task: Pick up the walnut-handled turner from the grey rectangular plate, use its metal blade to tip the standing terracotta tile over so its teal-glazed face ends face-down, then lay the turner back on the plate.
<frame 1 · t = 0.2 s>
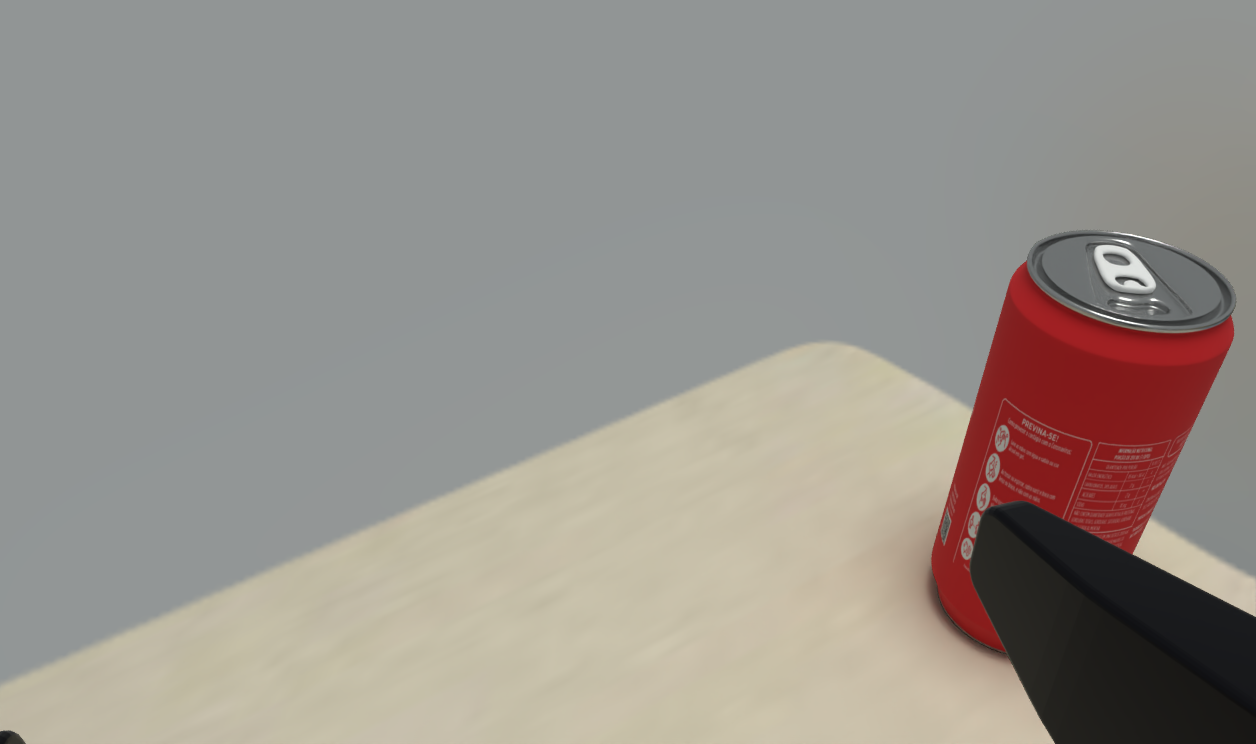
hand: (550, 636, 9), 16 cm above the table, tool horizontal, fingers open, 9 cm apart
beverage can: (1006, 604, 30), on the table
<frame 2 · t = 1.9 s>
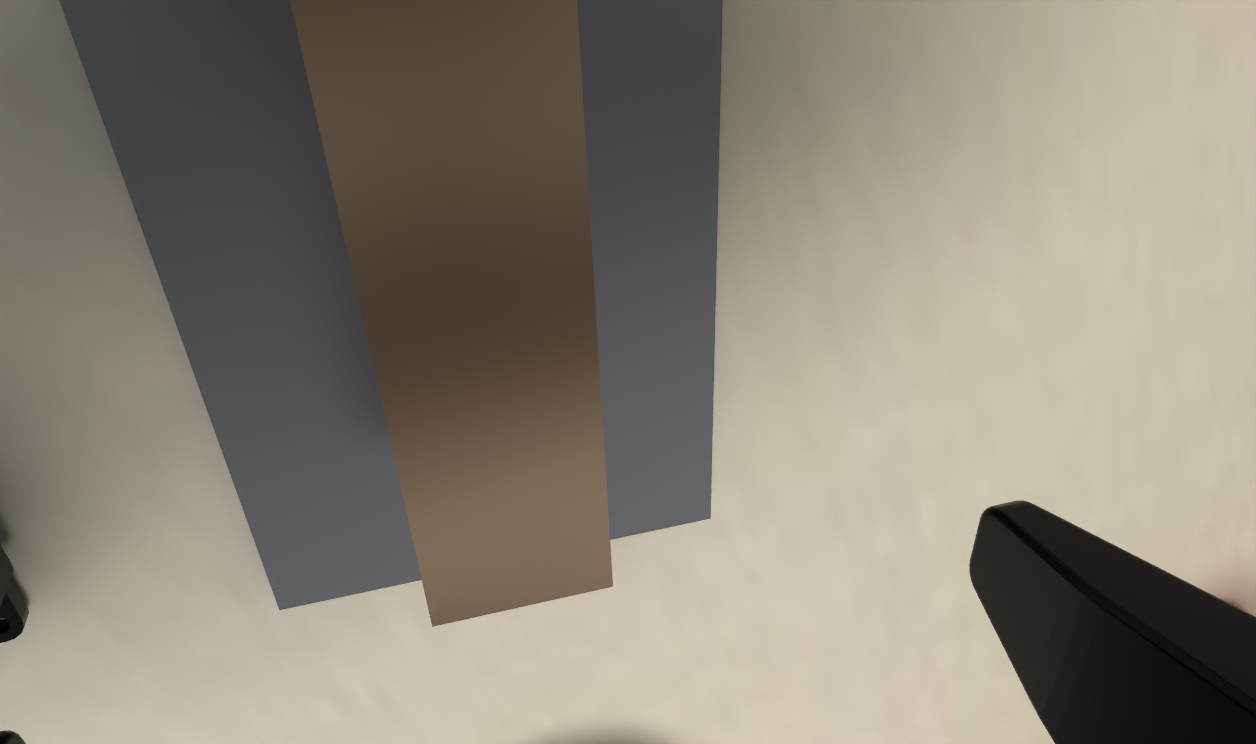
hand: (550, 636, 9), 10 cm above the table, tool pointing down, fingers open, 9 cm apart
grey rectangular plate: (428, 78, 16), on the table
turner: (449, 202, 17), point 1 cm above the table, touching grey rectangular plate
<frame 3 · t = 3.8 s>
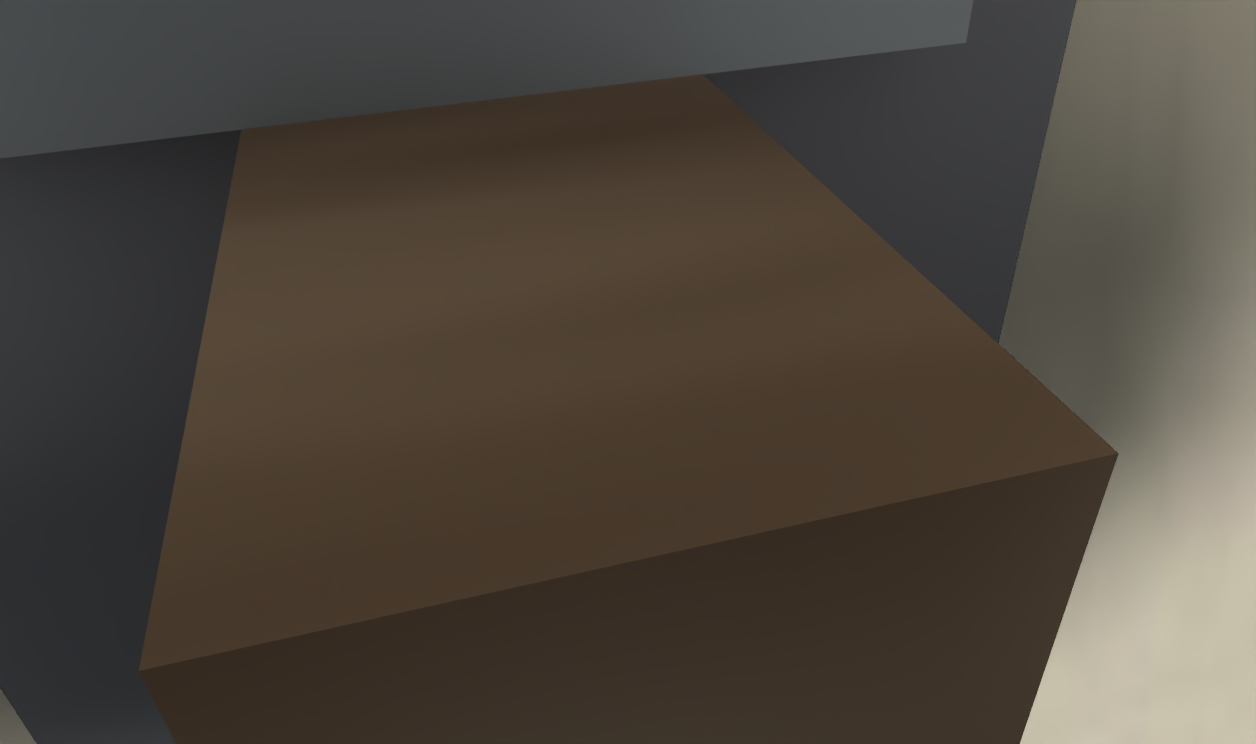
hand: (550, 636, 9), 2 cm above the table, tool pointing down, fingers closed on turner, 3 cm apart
grey rectangular plate: (500, 365, 9), on the table
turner: (531, 559, 10), point 1 cm above the table, touching gripper, grey rectangular plate
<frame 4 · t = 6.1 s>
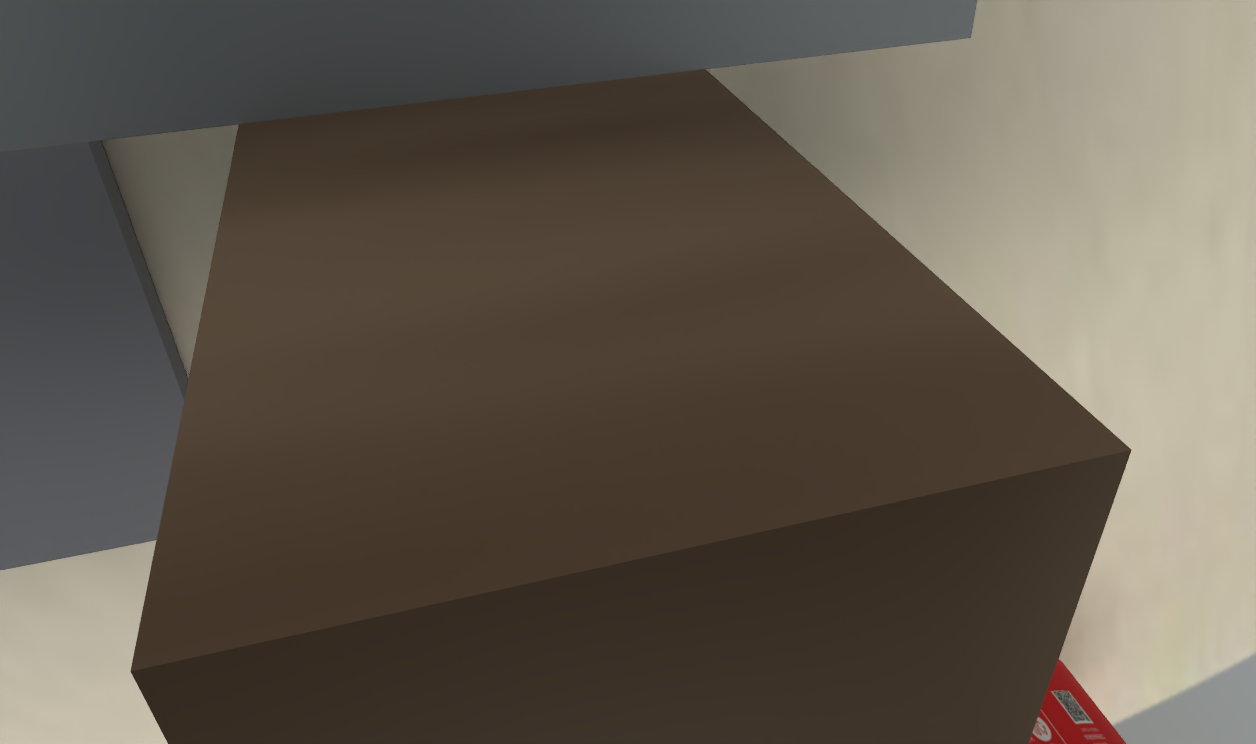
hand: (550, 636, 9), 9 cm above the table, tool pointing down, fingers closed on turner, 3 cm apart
beverage can: (960, 674, 29), on the table
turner: (531, 558, 10), point 8 cm above the table, touching gripper
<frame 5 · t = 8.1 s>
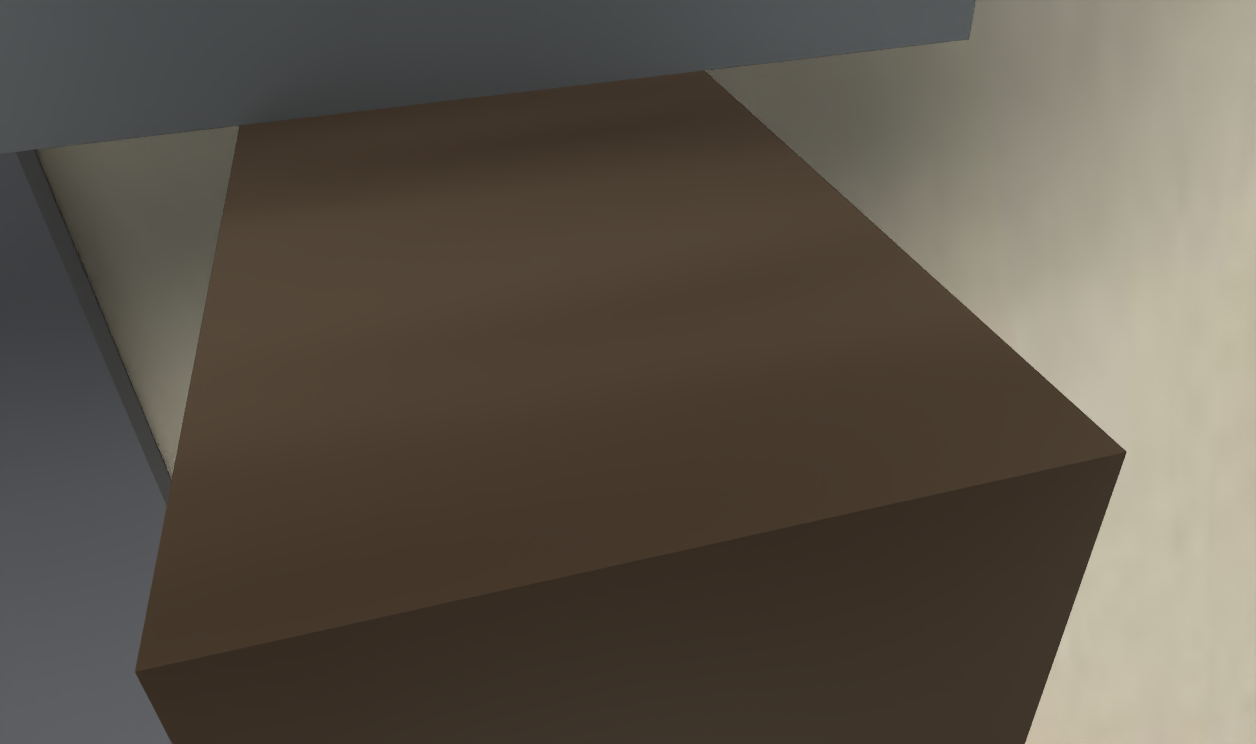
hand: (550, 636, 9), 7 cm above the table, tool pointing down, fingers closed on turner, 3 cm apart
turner: (531, 558, 10), point 6 cm above the table, touching gripper
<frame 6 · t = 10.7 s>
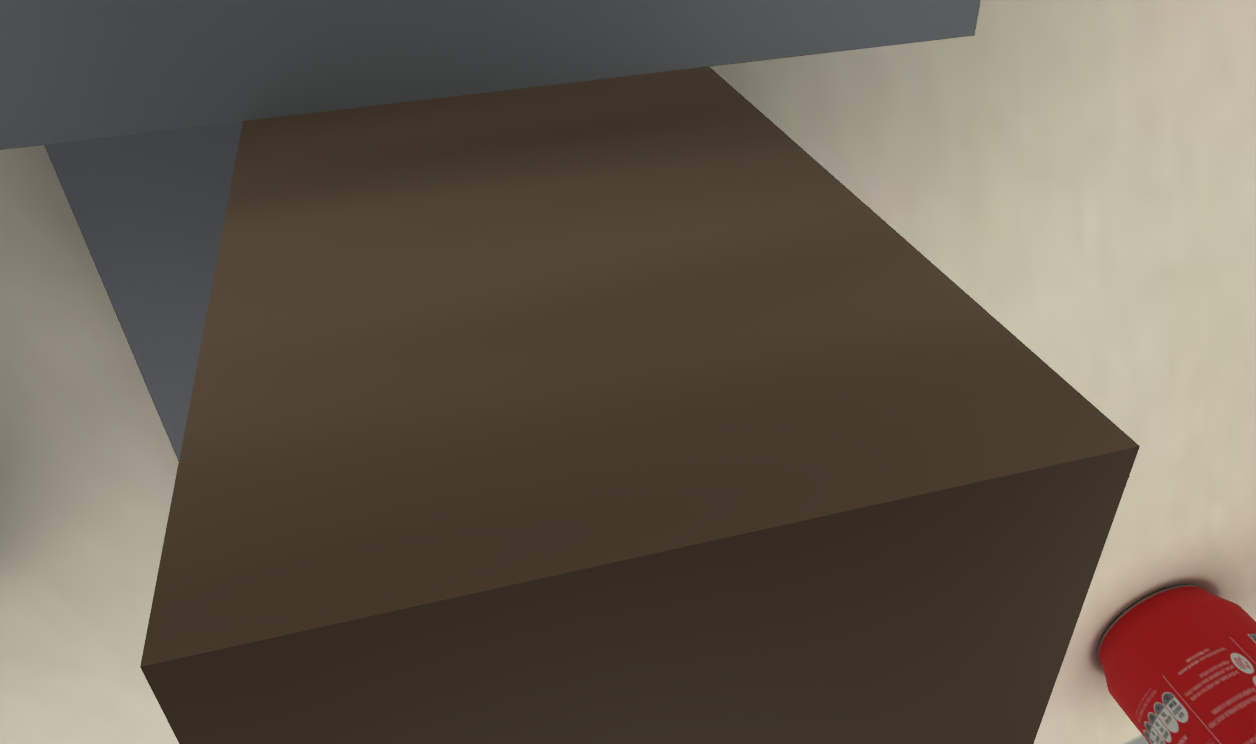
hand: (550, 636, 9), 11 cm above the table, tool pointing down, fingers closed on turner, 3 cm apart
beverage can: (1150, 624, 34), on the table
grey rectangular plate: (347, 47, 16), on the table
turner: (533, 556, 10), point 10 cm above the table, touching gripper
when the fingers open (3 cm above the table, at t = 12.7 s): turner drops 1 cm, resting on grey rectangular plate.
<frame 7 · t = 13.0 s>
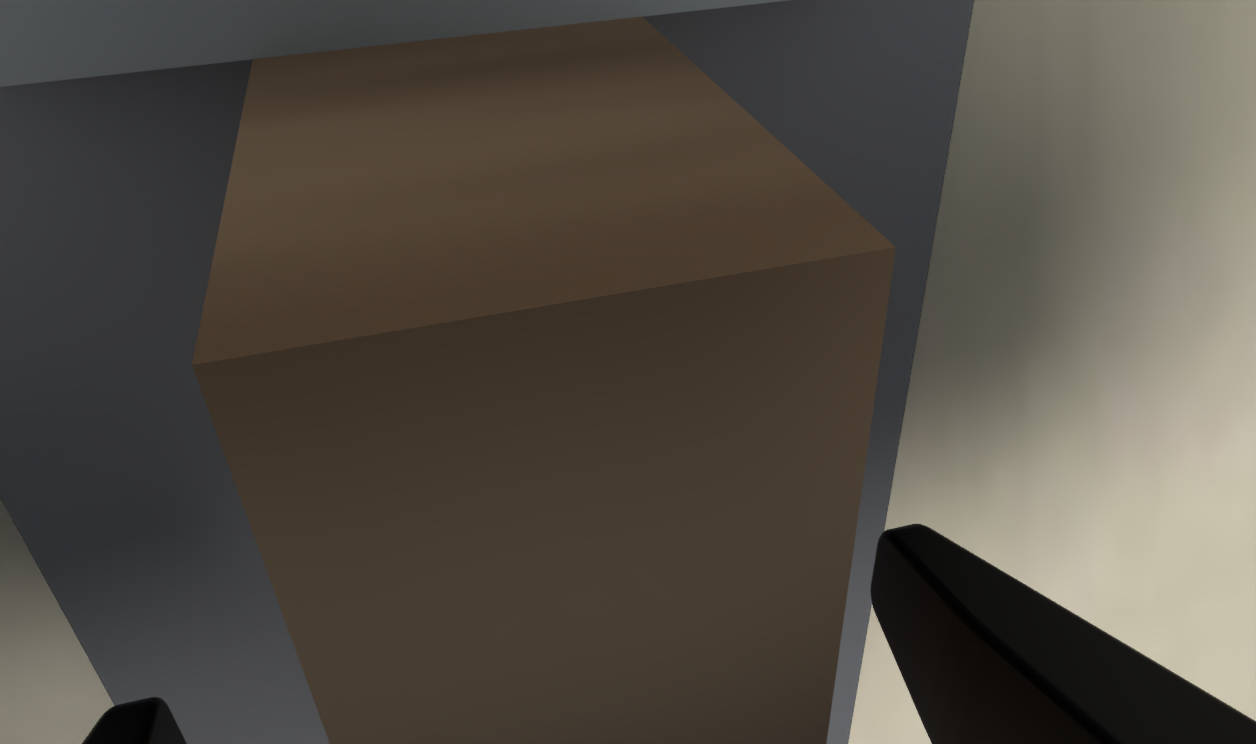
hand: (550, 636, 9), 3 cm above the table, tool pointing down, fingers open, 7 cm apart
grey rectangular plate: (482, 289, 10), on the table
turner: (508, 466, 11), point 1 cm above the table, touching grey rectangular plate
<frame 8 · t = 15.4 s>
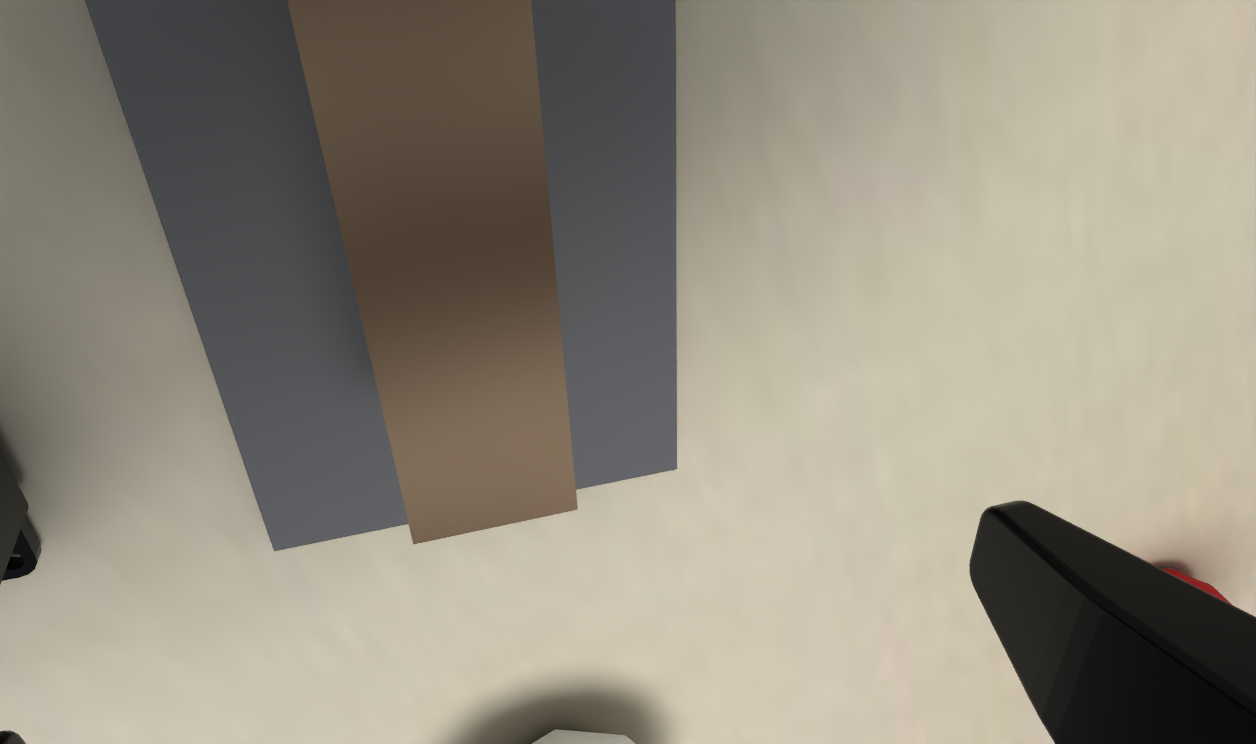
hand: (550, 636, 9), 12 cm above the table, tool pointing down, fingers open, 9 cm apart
beverage can: (1129, 606, 35), on the table
grey rectangular plate: (409, 51, 18), on the table
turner: (427, 164, 18), point 1 cm above the table, touching grey rectangular plate
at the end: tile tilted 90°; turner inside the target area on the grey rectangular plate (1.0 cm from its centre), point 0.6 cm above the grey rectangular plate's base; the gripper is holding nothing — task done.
